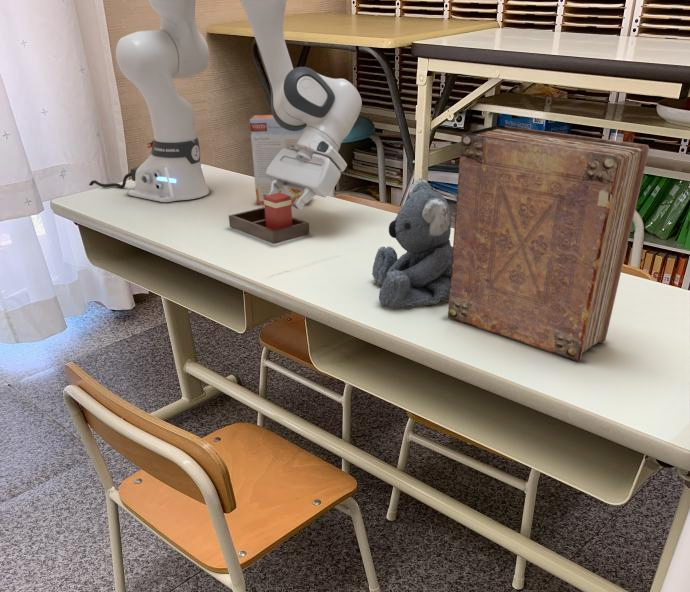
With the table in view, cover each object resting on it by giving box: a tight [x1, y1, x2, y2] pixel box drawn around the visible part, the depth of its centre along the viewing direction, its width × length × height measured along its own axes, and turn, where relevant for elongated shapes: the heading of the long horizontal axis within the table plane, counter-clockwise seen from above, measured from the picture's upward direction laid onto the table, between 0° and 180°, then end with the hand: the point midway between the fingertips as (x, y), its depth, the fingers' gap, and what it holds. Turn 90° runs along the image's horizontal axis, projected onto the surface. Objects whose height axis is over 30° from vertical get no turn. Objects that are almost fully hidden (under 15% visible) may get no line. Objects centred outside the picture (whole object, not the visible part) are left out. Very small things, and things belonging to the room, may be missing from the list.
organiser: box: [228, 206, 310, 245], centre depth 162 cm, size 18×10×3 cm, turn 42°
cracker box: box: [249, 114, 311, 206], centre depth 179 cm, size 14×6×21 cm, turn 84°
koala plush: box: [371, 177, 453, 309], centre depth 126 cm, size 17×18×20 cm
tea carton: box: [263, 193, 293, 230], centre depth 158 cm, size 4×4×8 cm
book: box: [447, 124, 650, 363], centre depth 109 cm, size 25×9×30 cm, turn 47°
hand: (283, 203), depth 157 cm, fingers open, 8 cm apart
